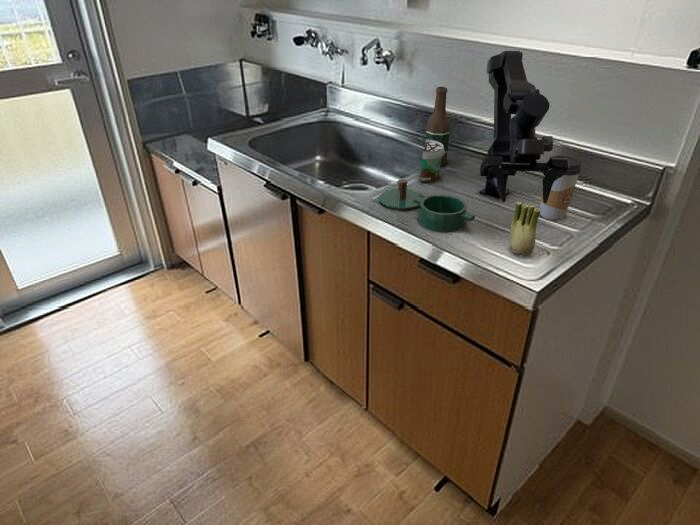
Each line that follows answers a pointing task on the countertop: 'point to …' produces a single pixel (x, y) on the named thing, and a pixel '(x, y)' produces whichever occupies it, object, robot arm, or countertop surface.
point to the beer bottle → (439, 123)
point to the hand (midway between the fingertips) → (524, 202)
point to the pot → (443, 213)
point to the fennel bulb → (523, 229)
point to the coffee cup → (561, 191)
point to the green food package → (431, 161)
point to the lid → (400, 197)
